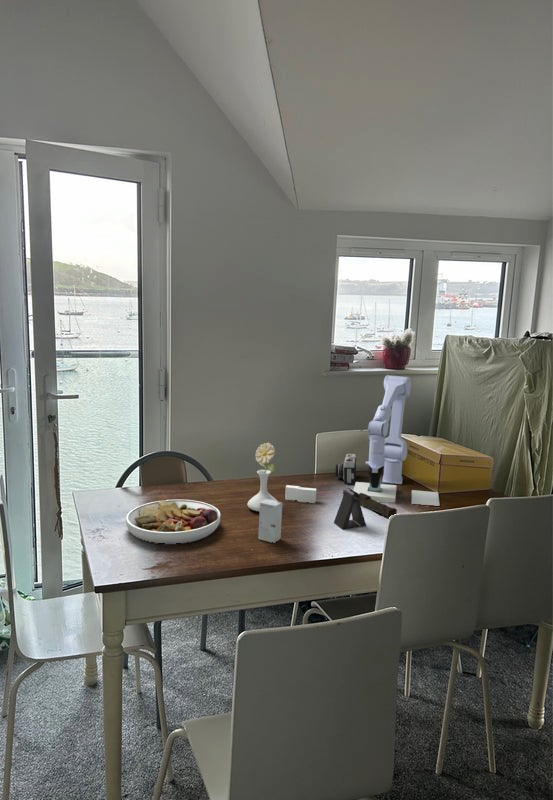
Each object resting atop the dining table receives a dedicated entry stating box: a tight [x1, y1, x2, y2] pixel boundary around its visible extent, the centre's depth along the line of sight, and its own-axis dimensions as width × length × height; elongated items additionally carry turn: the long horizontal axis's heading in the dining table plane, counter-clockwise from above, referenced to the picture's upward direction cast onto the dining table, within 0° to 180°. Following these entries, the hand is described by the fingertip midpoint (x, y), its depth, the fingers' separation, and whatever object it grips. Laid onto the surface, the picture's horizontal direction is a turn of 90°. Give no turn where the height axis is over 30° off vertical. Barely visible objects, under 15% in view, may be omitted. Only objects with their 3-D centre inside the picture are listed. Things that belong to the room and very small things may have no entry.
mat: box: [411, 489, 440, 506], centre depth 231 cm, size 16×10×1 cm, turn 167°
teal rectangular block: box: [369, 476, 382, 492], centre depth 234 cm, size 4×4×7 cm
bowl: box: [125, 499, 221, 545], centre depth 197 cm, size 30×30×8 cm
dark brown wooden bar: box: [359, 493, 398, 519], centre depth 217 cm, size 19×4×5 cm, turn 31°
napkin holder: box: [284, 484, 317, 504], centre depth 227 cm, size 15×11×6 cm
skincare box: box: [257, 499, 283, 544], centre depth 189 cm, size 6×4×12 cm
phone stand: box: [333, 487, 367, 530], centre depth 203 cm, size 9×6×12 cm, turn 112°
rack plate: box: [352, 481, 398, 503], centre depth 235 cm, size 16×16×2 cm
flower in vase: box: [246, 442, 278, 512], centre depth 214 cm, size 13×11×25 cm
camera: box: [335, 453, 357, 485], centre depth 253 cm, size 14×9×10 cm, turn 162°
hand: (375, 485), depth 235 cm, fingers closed on teal rectangular block, 4 cm apart
